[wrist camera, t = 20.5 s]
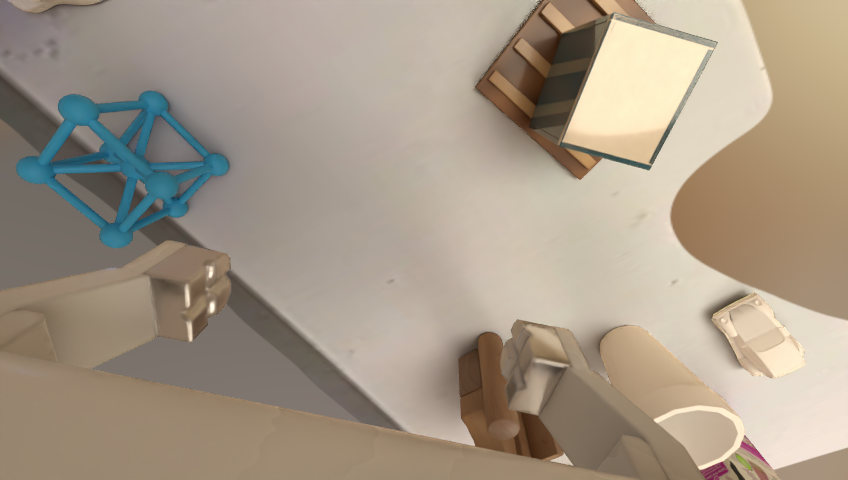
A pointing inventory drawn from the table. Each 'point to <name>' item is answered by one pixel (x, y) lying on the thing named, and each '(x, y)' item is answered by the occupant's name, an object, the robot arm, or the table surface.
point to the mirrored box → (619, 87)
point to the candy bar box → (741, 466)
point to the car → (759, 338)
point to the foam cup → (671, 395)
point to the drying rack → (545, 66)
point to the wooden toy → (498, 407)
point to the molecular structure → (122, 164)
